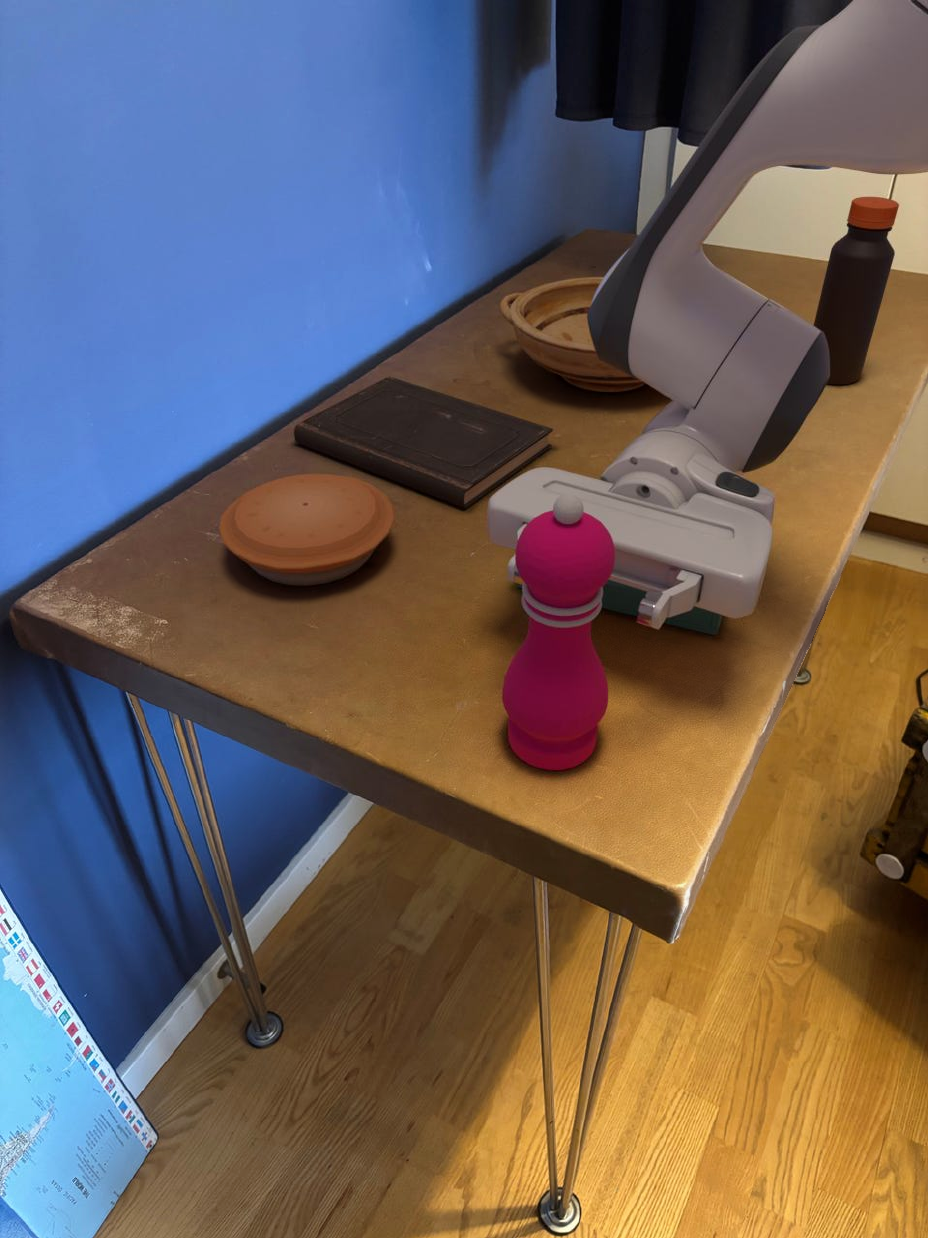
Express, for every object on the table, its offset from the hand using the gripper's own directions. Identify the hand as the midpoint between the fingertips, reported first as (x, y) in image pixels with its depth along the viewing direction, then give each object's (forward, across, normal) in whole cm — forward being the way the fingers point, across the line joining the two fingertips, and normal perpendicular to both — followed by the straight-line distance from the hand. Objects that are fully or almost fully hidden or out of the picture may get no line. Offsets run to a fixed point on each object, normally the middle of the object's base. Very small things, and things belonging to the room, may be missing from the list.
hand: (580, 596), depth 60 cm
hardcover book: (-30, -31, +11) cm, 45 cm away
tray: (-20, -3, +11) cm, 23 cm away
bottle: (-70, +3, +11) cm, 71 cm away
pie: (-8, -30, +11) cm, 32 cm away
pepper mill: (+3, 0, +11) cm, 11 cm away
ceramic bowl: (-57, -22, +11) cm, 62 cm away
